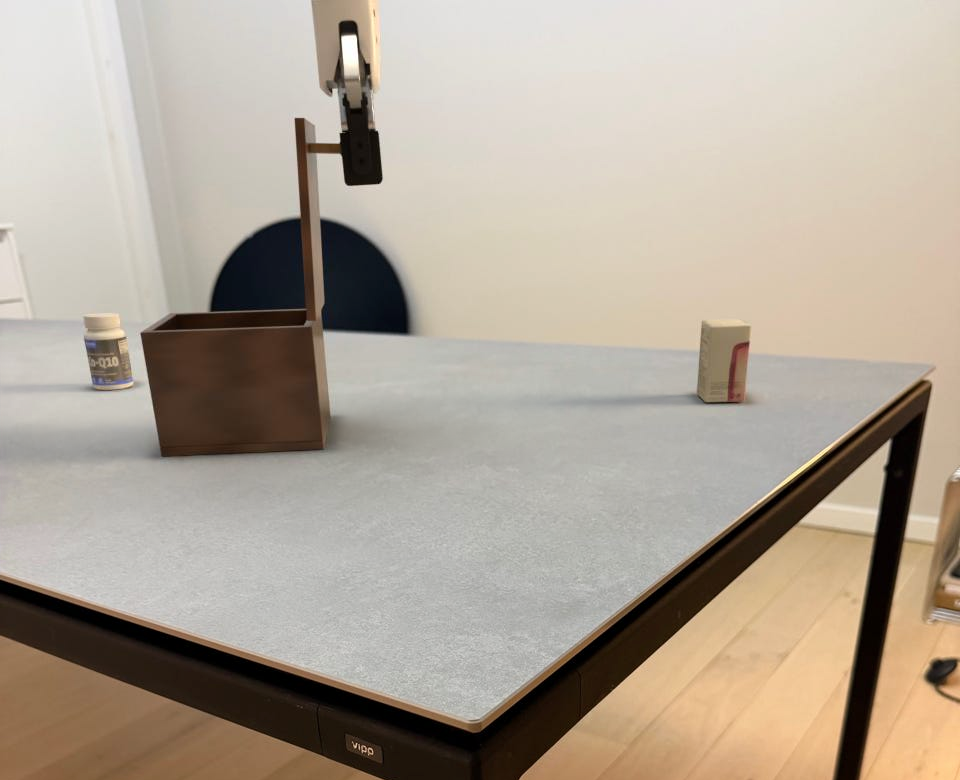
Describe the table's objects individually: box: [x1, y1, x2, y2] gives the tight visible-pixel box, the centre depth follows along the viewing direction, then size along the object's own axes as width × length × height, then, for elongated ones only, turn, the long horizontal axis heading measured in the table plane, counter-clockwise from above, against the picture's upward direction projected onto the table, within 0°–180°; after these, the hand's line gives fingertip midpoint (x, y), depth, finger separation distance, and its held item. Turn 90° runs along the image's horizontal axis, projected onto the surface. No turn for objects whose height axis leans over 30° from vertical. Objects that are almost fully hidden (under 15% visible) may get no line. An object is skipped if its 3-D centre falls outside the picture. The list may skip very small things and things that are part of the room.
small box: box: [696, 318, 752, 403], centre depth 101 cm, size 5×4×8 cm
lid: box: [294, 117, 342, 321], centre depth 84 cm, size 15×13×5 cm
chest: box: [139, 308, 332, 457], centre depth 90 cm, size 15×13×11 cm
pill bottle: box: [82, 312, 135, 391], centre depth 114 cm, size 5×5×8 cm
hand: (364, 181), depth 83 cm, fingers closed on lid, 5 cm apart
